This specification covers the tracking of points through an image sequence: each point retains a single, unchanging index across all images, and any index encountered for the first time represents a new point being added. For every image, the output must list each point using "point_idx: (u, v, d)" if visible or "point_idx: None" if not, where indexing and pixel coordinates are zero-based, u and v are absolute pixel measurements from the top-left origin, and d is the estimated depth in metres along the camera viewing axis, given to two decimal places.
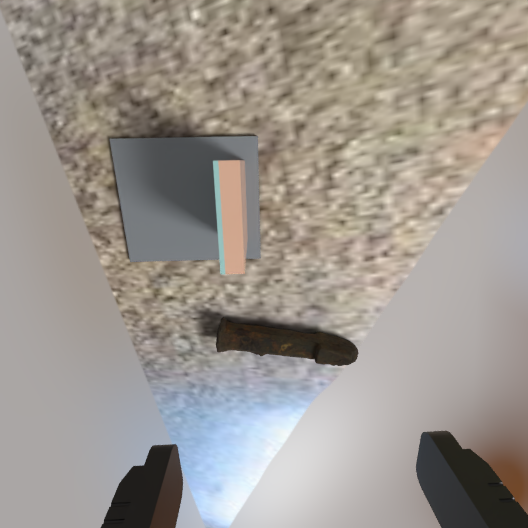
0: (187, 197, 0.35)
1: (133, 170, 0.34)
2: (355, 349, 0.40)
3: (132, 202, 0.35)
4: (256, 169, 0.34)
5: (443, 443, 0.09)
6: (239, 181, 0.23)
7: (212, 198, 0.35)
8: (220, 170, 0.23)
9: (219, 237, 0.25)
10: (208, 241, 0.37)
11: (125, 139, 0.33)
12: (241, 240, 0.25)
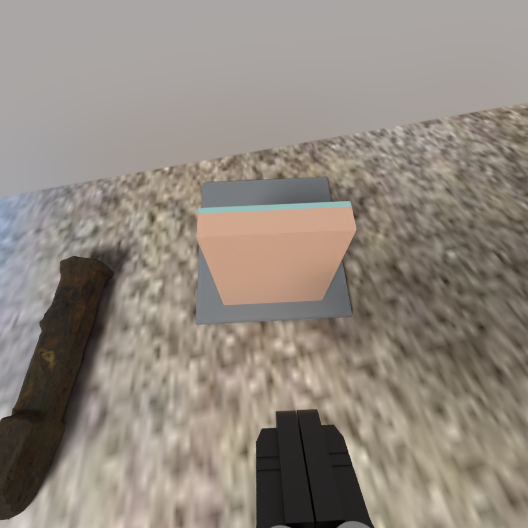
0: None
1: (299, 193, 0.33)
2: (11, 509, 0.20)
3: (267, 189, 0.34)
4: (313, 314, 0.27)
5: (307, 419, 0.10)
6: (329, 229, 0.17)
7: None
8: (339, 208, 0.18)
9: (251, 207, 0.18)
10: None
11: (328, 188, 0.34)
12: (247, 233, 0.17)
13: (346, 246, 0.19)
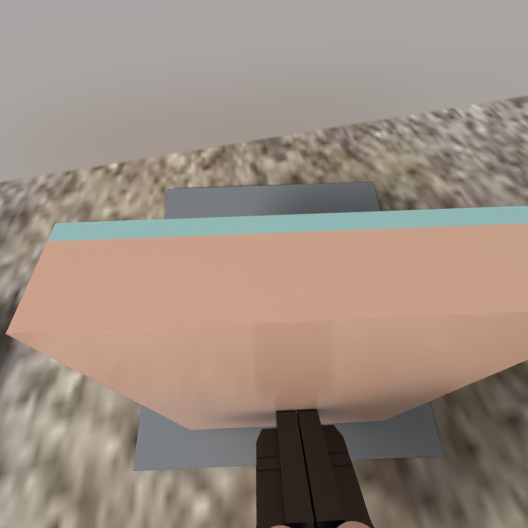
0: None
1: (328, 208, 0.20)
2: None
3: (274, 201, 0.20)
4: (366, 453, 0.14)
5: (307, 419, 0.10)
6: None
7: None
8: None
9: (237, 221, 0.05)
10: None
11: (376, 201, 0.20)
12: (215, 316, 0.04)
13: None
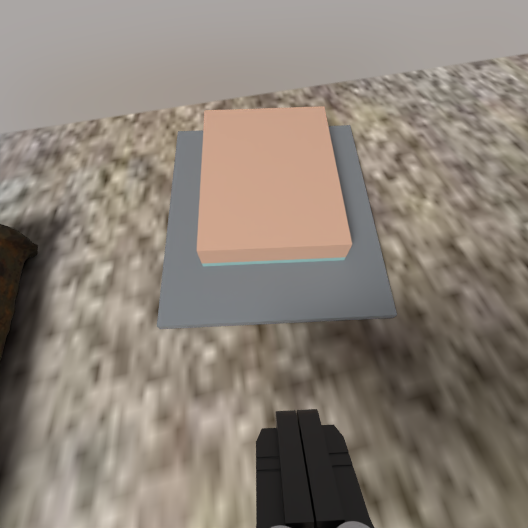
0: None
1: None
2: None
3: None
4: (337, 314, 0.18)
5: (307, 419, 0.10)
6: (303, 108, 0.23)
7: None
8: None
9: None
10: None
11: (352, 140, 0.24)
12: None
13: (326, 123, 0.22)
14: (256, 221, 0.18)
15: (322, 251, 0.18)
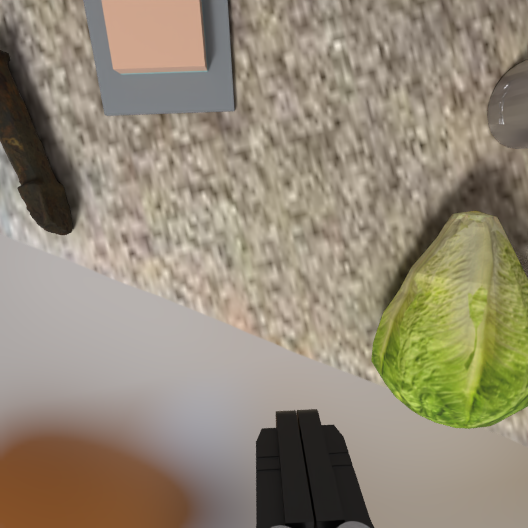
0: None
1: None
2: (63, 228, 0.35)
3: None
4: (201, 109, 0.33)
5: (307, 419, 0.10)
6: None
7: None
8: None
9: None
10: None
11: None
12: None
13: None
14: (145, 45, 0.29)
15: (190, 68, 0.31)
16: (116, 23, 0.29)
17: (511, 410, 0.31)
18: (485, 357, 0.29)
